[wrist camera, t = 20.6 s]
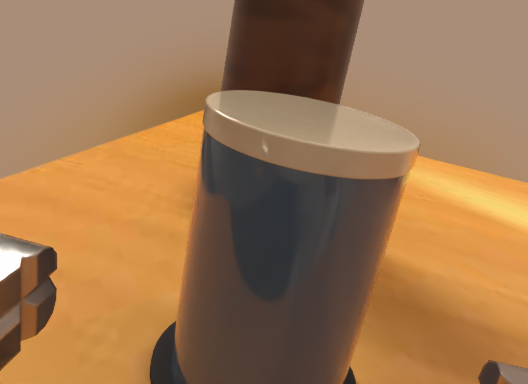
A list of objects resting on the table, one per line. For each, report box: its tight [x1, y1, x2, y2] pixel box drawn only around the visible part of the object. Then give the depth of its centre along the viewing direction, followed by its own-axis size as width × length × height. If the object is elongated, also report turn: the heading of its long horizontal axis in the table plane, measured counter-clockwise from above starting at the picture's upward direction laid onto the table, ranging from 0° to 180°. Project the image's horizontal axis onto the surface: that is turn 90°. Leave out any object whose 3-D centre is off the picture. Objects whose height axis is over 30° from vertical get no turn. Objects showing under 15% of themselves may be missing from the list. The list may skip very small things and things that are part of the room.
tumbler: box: [171, 90, 420, 384], centre depth 17 cm, size 7×7×10 cm
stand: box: [221, 0, 364, 105], centre depth 31 cm, size 8×8×18 cm
